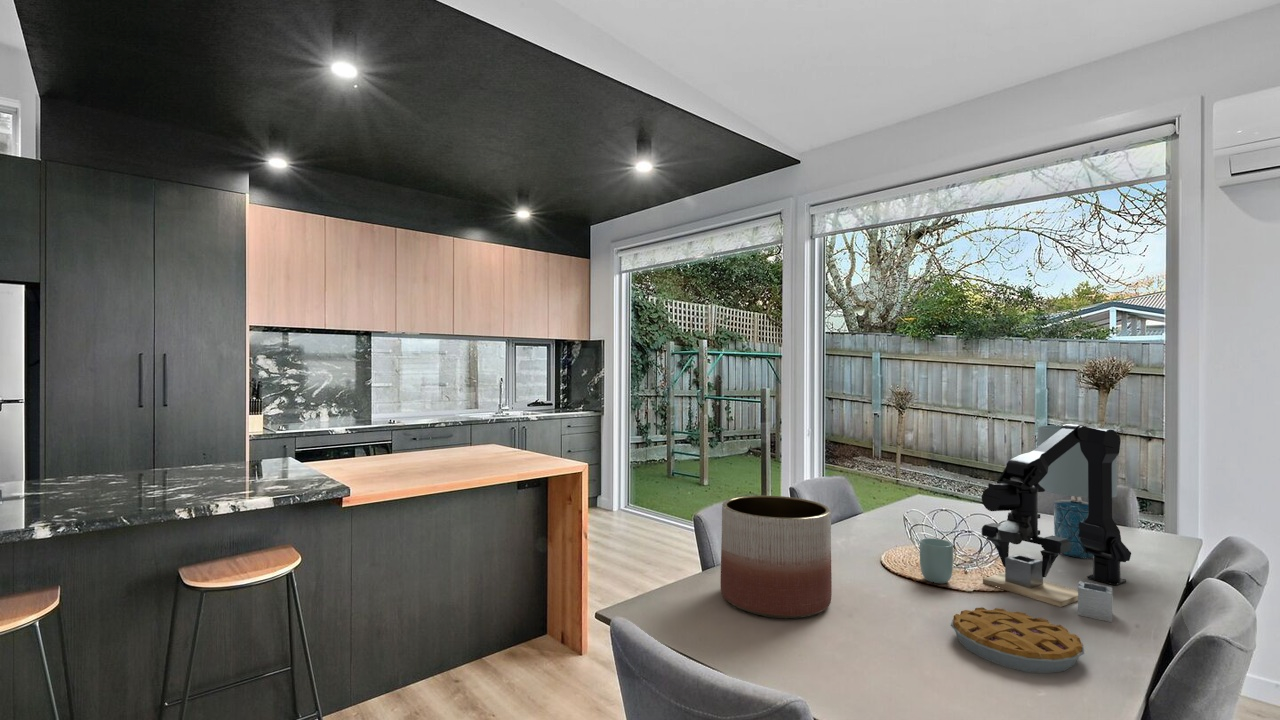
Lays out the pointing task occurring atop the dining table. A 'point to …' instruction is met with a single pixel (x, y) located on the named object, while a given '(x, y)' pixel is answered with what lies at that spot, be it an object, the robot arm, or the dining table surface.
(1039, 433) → the lamp
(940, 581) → the cup
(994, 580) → the board
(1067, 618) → the dining table surface
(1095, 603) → the grey open cube box
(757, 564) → the planter
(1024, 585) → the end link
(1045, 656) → the pie
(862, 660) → the dining table surface
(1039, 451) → the robot arm
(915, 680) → the dining table surface
